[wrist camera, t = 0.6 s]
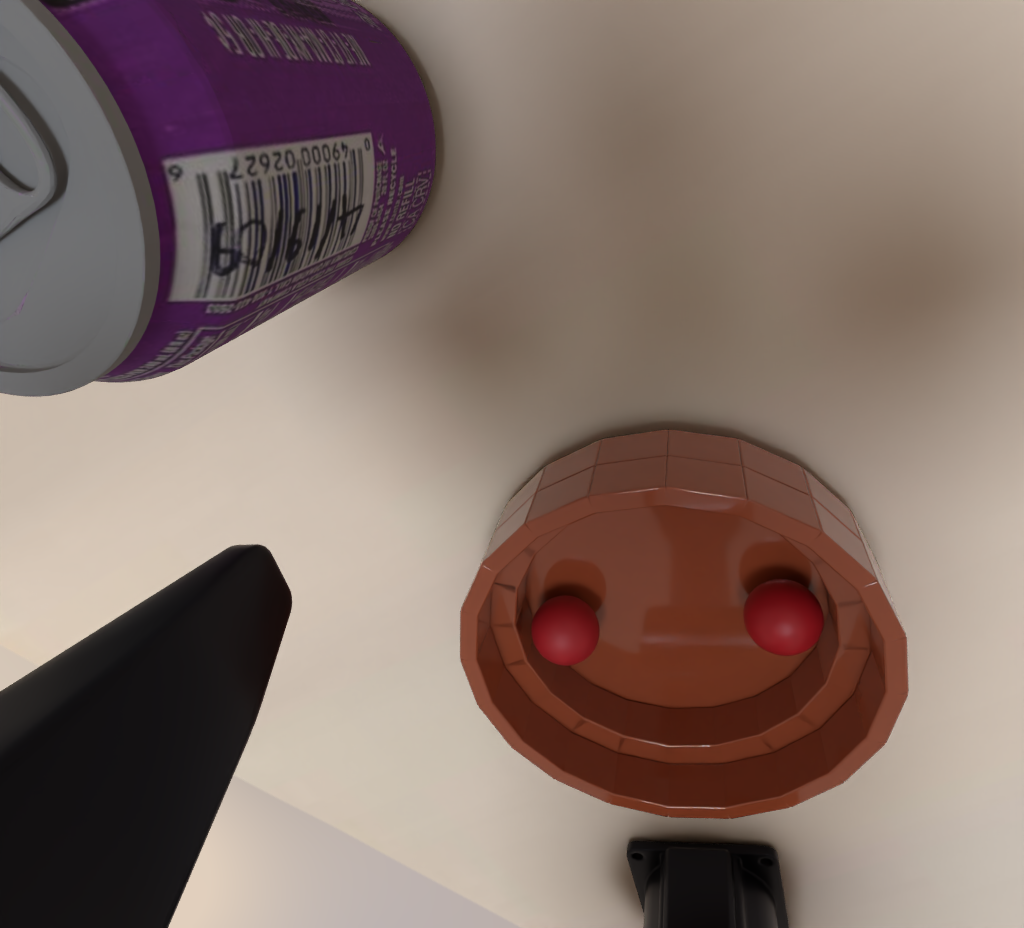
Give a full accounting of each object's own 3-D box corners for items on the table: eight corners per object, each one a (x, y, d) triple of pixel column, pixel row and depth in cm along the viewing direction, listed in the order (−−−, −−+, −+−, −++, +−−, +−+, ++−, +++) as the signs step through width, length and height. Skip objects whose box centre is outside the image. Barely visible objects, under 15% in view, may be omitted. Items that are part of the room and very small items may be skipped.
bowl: (881, 720, 25) (913, 824, 22) (539, 725, 29) (518, 814, 26) (863, 391, 20) (902, 457, 16) (446, 453, 24) (404, 518, 20)
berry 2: (820, 618, 23) (832, 670, 21) (745, 623, 24) (750, 673, 22) (814, 561, 22) (827, 609, 20) (736, 567, 23) (741, 614, 21)
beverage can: (336, -78, 17) (-171, -317, 7) (493, 178, 19) (276, 280, 9) (168, 100, 20) (-361, 112, 10) (318, 305, 22) (8, 489, 12)
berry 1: (609, 631, 25) (601, 679, 23) (546, 635, 26) (534, 681, 24) (595, 579, 24) (587, 624, 22) (531, 584, 25) (517, 628, 23)
